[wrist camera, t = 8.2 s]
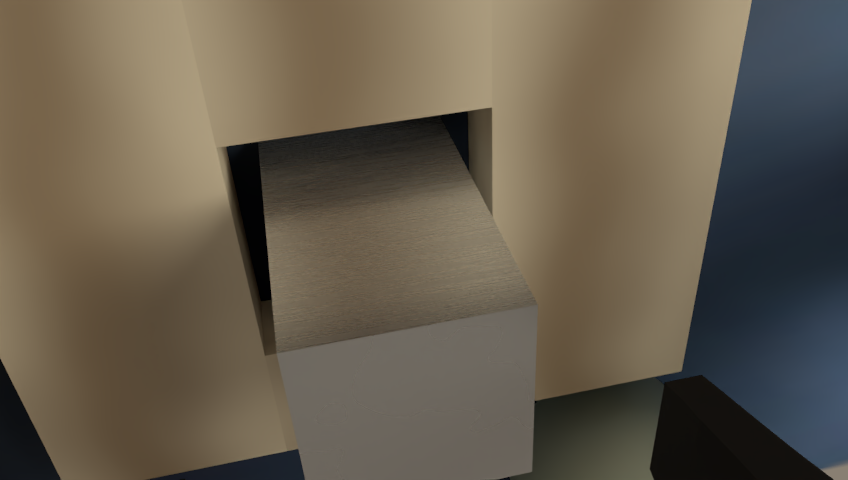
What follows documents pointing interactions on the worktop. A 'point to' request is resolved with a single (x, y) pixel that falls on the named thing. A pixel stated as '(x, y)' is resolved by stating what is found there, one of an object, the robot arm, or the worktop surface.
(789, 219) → the worktop surface
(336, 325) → the square peg
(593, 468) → the round peg
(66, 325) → the socket board
